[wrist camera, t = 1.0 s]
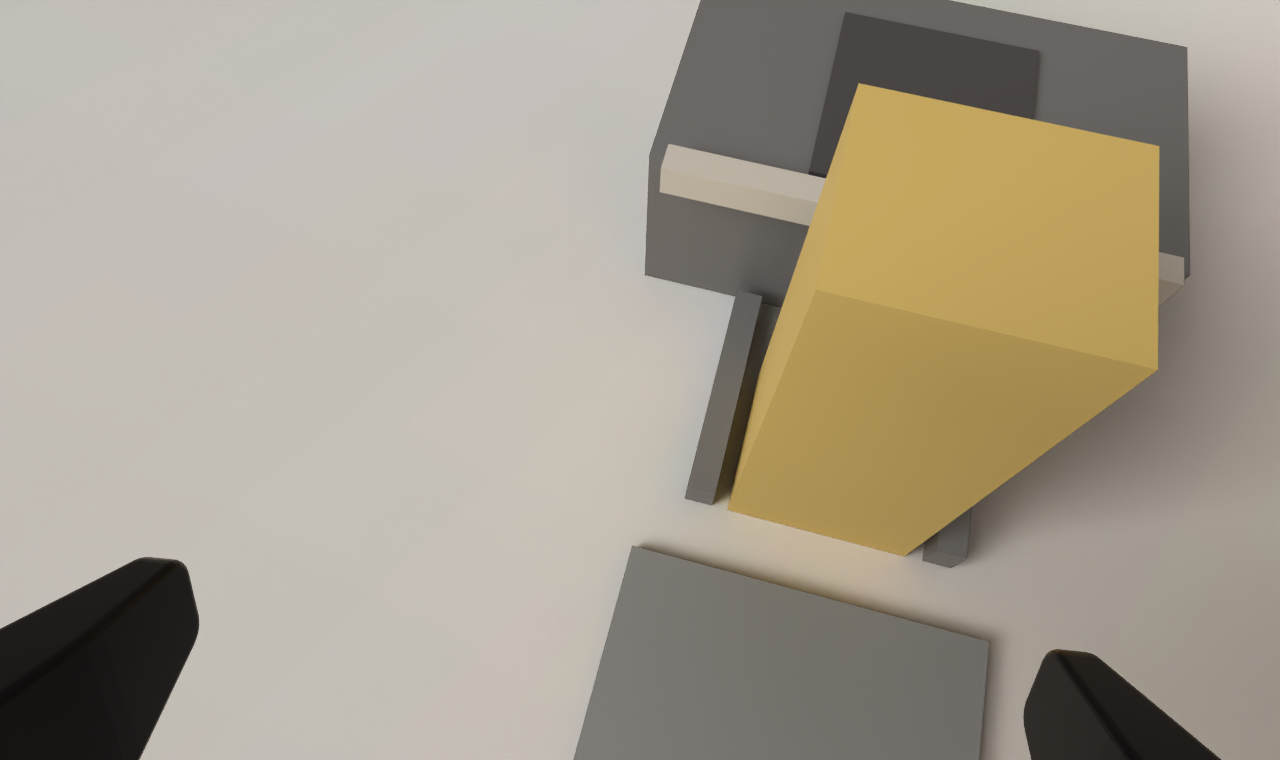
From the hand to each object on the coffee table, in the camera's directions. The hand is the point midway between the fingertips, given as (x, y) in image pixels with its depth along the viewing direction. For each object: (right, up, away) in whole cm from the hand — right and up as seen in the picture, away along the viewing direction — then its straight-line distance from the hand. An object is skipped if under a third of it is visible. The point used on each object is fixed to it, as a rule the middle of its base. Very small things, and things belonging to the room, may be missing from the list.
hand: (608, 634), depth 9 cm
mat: (+4, -8, +13) cm, 15 cm away
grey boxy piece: (+7, +5, +18) cm, 20 cm away
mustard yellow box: (+6, 0, +16) cm, 17 cm away
